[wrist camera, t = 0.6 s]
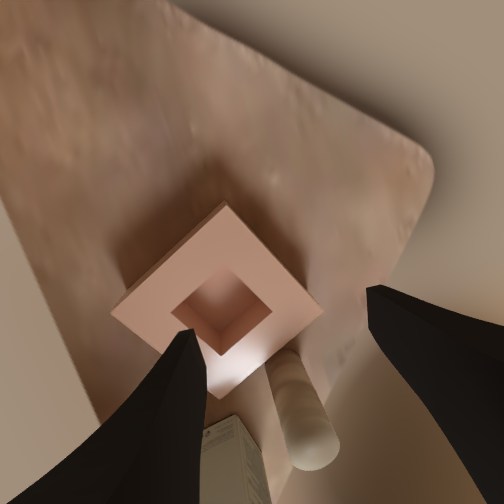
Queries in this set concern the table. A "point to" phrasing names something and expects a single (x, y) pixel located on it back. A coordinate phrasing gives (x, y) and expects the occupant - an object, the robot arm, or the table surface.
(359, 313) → the table surface
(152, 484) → the robot arm
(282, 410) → the beech peg
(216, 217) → the socket block
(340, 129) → the table surface
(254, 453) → the skincare box
